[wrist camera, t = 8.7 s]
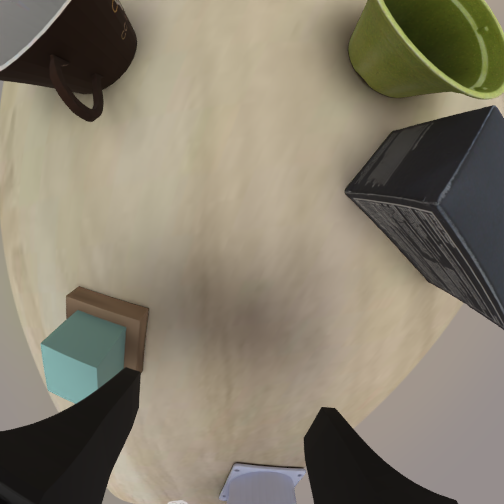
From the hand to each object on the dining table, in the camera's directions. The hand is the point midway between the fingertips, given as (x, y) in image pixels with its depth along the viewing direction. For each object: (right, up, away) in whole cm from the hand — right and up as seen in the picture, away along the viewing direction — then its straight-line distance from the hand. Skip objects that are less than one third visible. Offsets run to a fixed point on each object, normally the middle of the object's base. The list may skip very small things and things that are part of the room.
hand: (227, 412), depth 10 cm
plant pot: (+11, +20, +6) cm, 23 cm away
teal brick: (-10, 0, +9) cm, 13 cm away
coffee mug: (-10, +19, +6) cm, 22 cm away
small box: (+13, +9, +9) cm, 18 cm away
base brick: (-10, 0, +11) cm, 15 cm away
